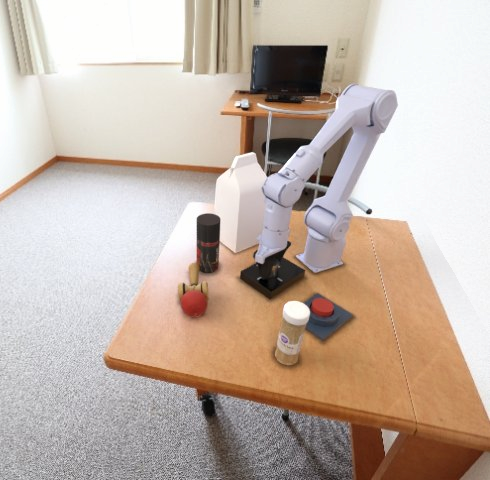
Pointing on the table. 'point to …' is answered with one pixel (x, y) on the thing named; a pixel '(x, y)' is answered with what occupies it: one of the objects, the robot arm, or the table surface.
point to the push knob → (322, 307)
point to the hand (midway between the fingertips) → (269, 271)
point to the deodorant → (208, 242)
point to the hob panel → (276, 285)
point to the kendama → (193, 293)
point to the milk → (241, 203)
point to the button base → (325, 320)
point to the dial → (274, 270)
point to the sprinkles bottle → (291, 332)
